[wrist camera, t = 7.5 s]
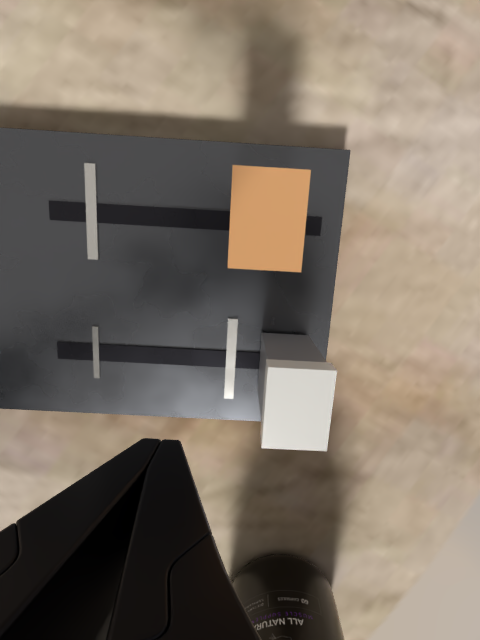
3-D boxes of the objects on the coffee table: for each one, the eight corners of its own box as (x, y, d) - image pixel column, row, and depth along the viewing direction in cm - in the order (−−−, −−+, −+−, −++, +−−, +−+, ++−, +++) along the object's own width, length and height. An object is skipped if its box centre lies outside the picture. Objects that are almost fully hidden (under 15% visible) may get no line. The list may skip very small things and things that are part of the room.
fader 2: (255, 392, 20) (261, 448, 15) (259, 330, 19) (267, 367, 14) (304, 395, 20) (326, 451, 15) (310, 333, 19) (336, 370, 14)
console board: (0, 398, 22) (-15, 408, 20) (-26, 131, 18) (-46, 124, 17) (314, 413, 22) (318, 425, 21) (343, 154, 19) (351, 149, 17)
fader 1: (230, 257, 18) (227, 267, 13) (233, 183, 18) (232, 165, 12) (283, 260, 18) (301, 272, 13) (289, 186, 18) (310, 169, 13)
